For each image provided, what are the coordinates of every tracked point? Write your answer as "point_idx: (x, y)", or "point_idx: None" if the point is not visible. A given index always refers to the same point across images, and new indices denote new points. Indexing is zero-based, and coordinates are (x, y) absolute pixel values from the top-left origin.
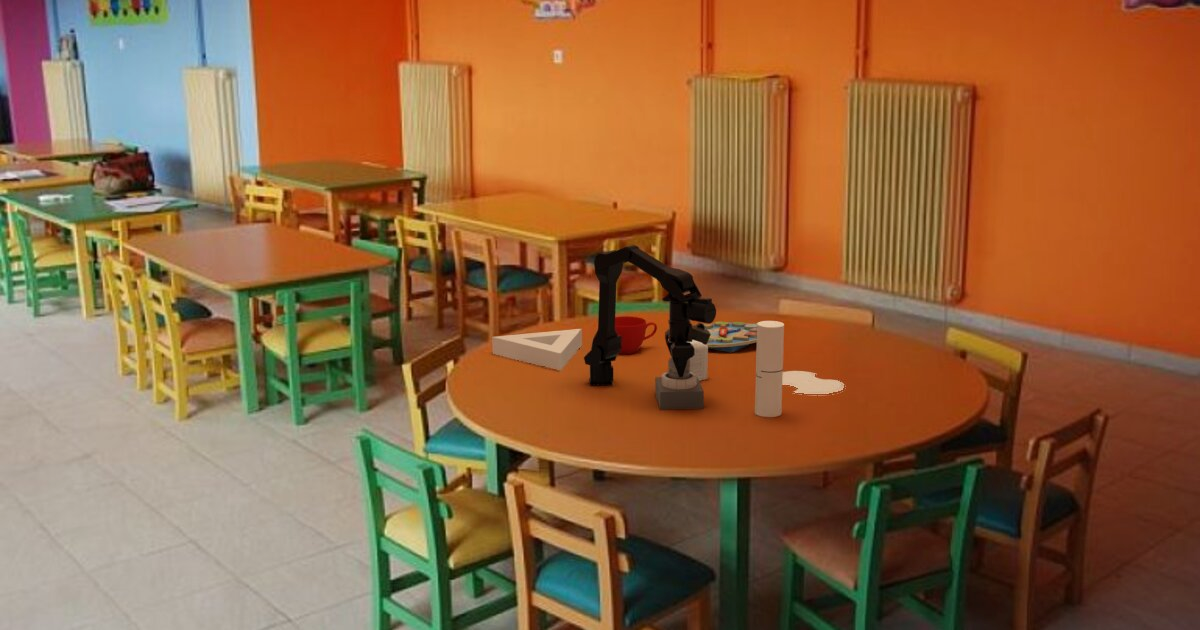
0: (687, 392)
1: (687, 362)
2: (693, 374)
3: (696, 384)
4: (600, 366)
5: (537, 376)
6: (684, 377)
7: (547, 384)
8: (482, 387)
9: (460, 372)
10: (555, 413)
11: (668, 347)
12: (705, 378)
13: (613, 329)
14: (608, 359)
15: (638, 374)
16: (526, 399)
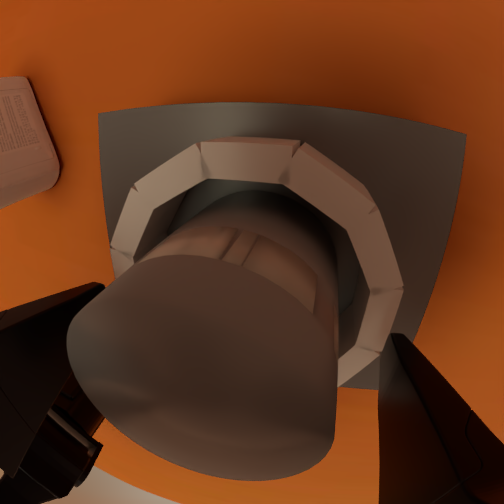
0: (441, 251)
1: (306, 373)
2: (219, 167)
3: (305, 143)
4: (89, 431)
5: (96, 437)
6: (335, 287)
7: (132, 448)
8: (165, 490)
9: (111, 474)
10: (314, 490)
11: (24, 450)
12: (26, 81)
13: (10, 483)
14: (51, 411)
15: (20, 283)
16: (221, 490)
